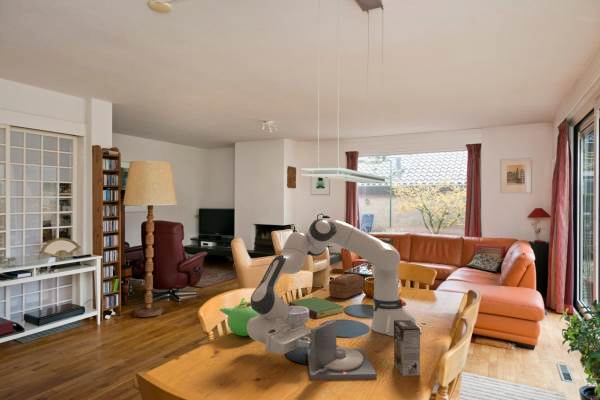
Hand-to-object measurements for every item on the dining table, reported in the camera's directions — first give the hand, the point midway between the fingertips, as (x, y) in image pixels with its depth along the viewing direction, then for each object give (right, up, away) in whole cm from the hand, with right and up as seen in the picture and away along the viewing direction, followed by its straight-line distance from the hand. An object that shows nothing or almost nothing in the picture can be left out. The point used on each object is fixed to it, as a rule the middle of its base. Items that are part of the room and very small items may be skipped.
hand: (311, 344), depth 131 cm
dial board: (+10, -9, +4) cm, 14 cm away
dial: (+8, -7, +1) cm, 11 cm away
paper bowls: (-7, -10, +47) cm, 48 cm away
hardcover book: (+5, -10, +73) cm, 74 cm away
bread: (+26, -10, +107) cm, 111 cm away
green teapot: (-28, -10, +36) cm, 47 cm away
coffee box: (+33, -9, 0) cm, 34 cm away
